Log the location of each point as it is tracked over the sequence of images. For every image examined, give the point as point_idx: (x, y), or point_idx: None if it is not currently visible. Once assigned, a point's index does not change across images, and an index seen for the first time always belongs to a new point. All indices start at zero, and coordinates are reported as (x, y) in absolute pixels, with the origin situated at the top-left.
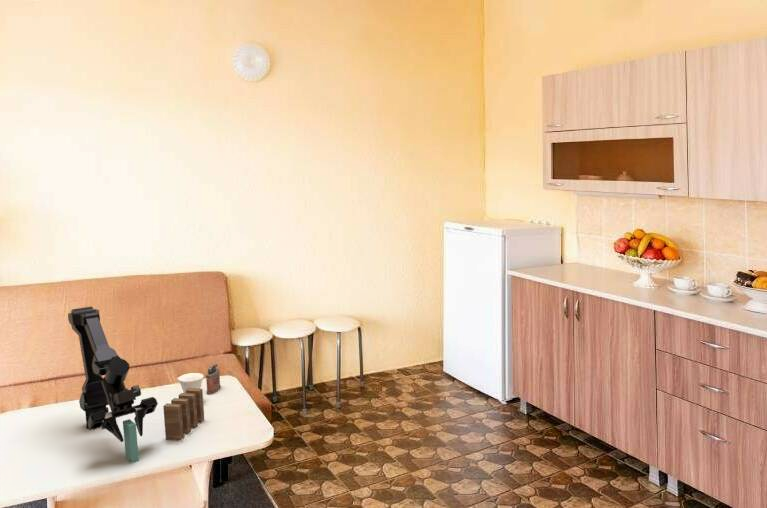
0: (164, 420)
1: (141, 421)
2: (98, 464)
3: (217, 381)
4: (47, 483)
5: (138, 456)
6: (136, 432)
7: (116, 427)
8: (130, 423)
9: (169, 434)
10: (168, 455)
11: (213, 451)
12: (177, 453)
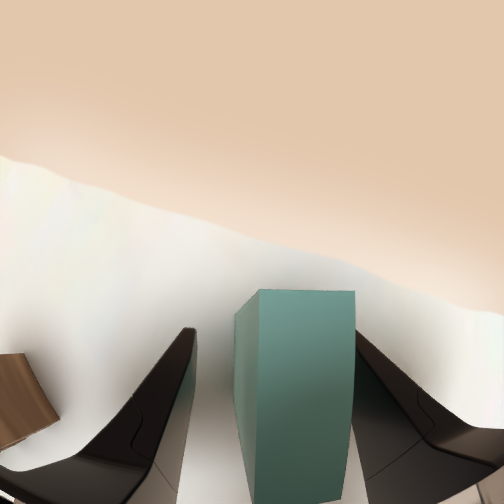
0: (4, 444)
1: (136, 413)
2: None
3: None
4: (499, 348)
5: (236, 313)
6: (249, 300)
7: (422, 407)
8: (305, 374)
9: (34, 406)
10: (114, 254)
11: (20, 164)
12: (82, 242)
